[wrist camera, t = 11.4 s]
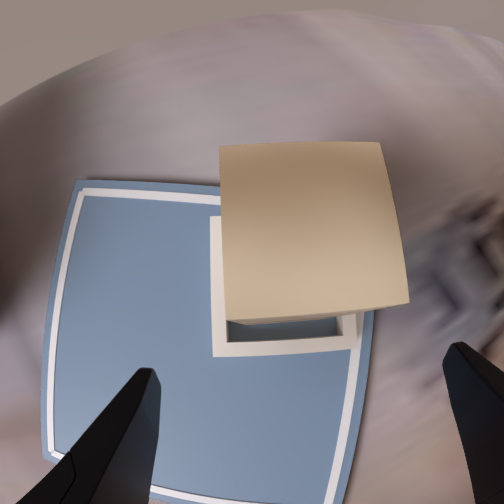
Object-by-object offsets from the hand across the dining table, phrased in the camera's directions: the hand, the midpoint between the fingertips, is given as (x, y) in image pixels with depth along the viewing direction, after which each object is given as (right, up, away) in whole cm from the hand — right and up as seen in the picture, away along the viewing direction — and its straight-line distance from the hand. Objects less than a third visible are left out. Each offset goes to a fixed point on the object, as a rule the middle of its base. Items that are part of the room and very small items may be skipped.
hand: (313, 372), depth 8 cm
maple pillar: (0, +1, +11) cm, 11 cm away
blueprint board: (-5, -3, +11) cm, 13 cm away
